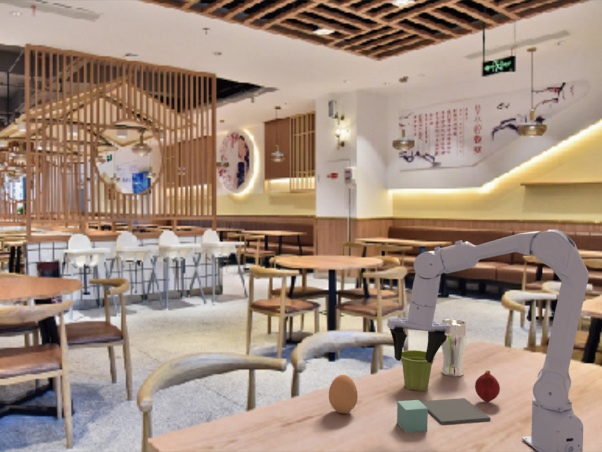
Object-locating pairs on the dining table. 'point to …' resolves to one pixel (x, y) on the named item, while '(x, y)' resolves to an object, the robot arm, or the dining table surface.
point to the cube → (412, 415)
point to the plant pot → (416, 369)
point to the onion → (487, 387)
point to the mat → (454, 411)
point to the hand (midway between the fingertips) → (412, 360)
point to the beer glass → (454, 348)
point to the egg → (343, 394)
